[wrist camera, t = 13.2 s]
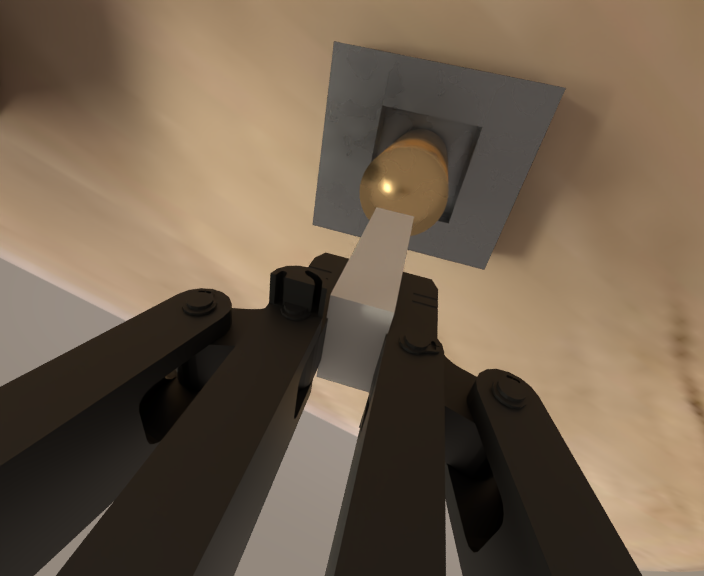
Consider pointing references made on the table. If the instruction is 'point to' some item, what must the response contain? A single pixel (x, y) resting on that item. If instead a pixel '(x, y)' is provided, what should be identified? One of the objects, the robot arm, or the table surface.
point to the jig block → (449, 124)
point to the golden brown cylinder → (409, 179)
